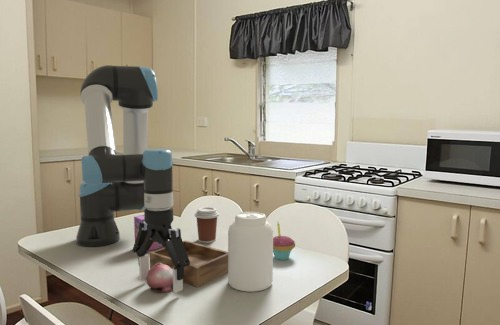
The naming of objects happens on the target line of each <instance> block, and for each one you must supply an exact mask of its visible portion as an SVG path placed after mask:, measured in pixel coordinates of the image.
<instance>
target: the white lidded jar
mask: <svg viewBox="0 0 500 325" xmlns="http://www.w3.org/2000/svg"><path fill="white" fill-rule="evenodd" d="M227 238H228V239H227V246H228V248H227V252H228V273H227V281H228V284H229V286H230V287H231V288H233V289H235V290H237V291H242V292H247V293H248V292H250V293H251V292H260V291H264V290H266V289H268V288H270V287H271V285H272V283H273V278H274V276H273V275H274V272H273V270H274V268H273V267H274V253H273V238H274V230H273V226H272V224H271V223H269V221H268V220H267V216H266V214H265V213H264V212H260V211H243V212H239V213H237V214H236V215H235V217H234V221H232V223H231V224H230V225H229V227H228V231H227Z"/></svg>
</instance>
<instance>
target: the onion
mask: <svg viewBox="0 0 500 325" xmlns="http://www.w3.org/2000/svg"><path fill="white" fill-rule="evenodd" d="M146 284H147V286H148V287H149V288H150V289H151V290H152V291H155V292H163V293H166V292H173V270H172V269H171V268H170V267H169V266H168V265H165V264H162V263H157V264H155V265H154V266H153V267H152V268H151V269H150V268H149V271H148V273H147V278H146Z"/></svg>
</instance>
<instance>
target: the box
mask: <svg viewBox="0 0 500 325" xmlns="http://www.w3.org/2000/svg"><path fill="white" fill-rule="evenodd" d="M133 221H134V223H133V224H134V225H133V226H134V227H133V228H134V242H135V241H136V238H137V235H138V231H139V223H140V222H144V221H145V219H144V214H141V215H135V216H134V217H133ZM138 247H139V246H138ZM162 248H164V247H163V246H162V244H160V243H158V242H153V244H152V245H151V247H150V248H149V250H148V251H147V252H149V251H150V252H151V251H155V250H156V249H157V250H159V249H162Z"/></svg>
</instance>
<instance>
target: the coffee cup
mask: <svg viewBox="0 0 500 325" xmlns="http://www.w3.org/2000/svg"><path fill="white" fill-rule="evenodd" d="M219 216H220V212H218V211H217V208H216V207H213V206H212V207H211V206H203V207H199V208H198V209H197V210H196V212H195V213H194V217H195V218H196V227H197V235H198V236H197V237H198V242H199V243H203V244H211V243H214V242H216V240H217V239H216V237H217V228H218V226H217V224H218V217H219Z"/></svg>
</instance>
